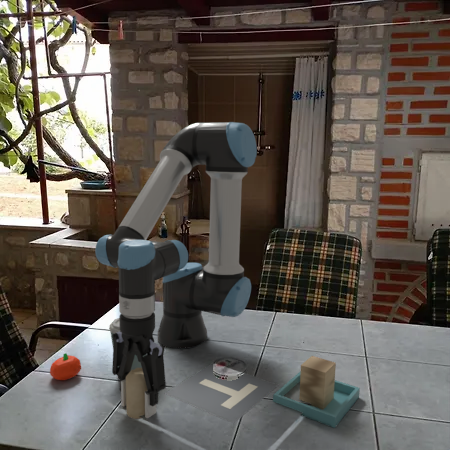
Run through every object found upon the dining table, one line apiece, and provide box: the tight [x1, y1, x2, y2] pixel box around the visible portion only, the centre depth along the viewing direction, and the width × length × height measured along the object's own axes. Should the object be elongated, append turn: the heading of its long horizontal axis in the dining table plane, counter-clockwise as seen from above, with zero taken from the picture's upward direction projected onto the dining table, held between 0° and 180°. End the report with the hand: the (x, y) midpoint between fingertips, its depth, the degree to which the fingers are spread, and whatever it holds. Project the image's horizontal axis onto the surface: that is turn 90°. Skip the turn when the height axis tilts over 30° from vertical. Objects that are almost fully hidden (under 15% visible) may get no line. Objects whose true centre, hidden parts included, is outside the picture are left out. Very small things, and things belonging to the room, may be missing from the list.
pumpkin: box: [49, 352, 82, 381], centre depth 118 cm, size 7×8×6 cm
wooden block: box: [298, 355, 337, 410], centre depth 109 cm, size 6×6×9 cm
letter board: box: [163, 361, 280, 424], centre depth 113 cm, size 20×20×1 cm
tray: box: [272, 370, 361, 429], centre depth 109 cm, size 15×15×2 cm
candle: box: [126, 368, 148, 420], centre depth 103 cm, size 6×6×10 cm
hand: (138, 411), depth 104 cm, fingers open, 7 cm apart
